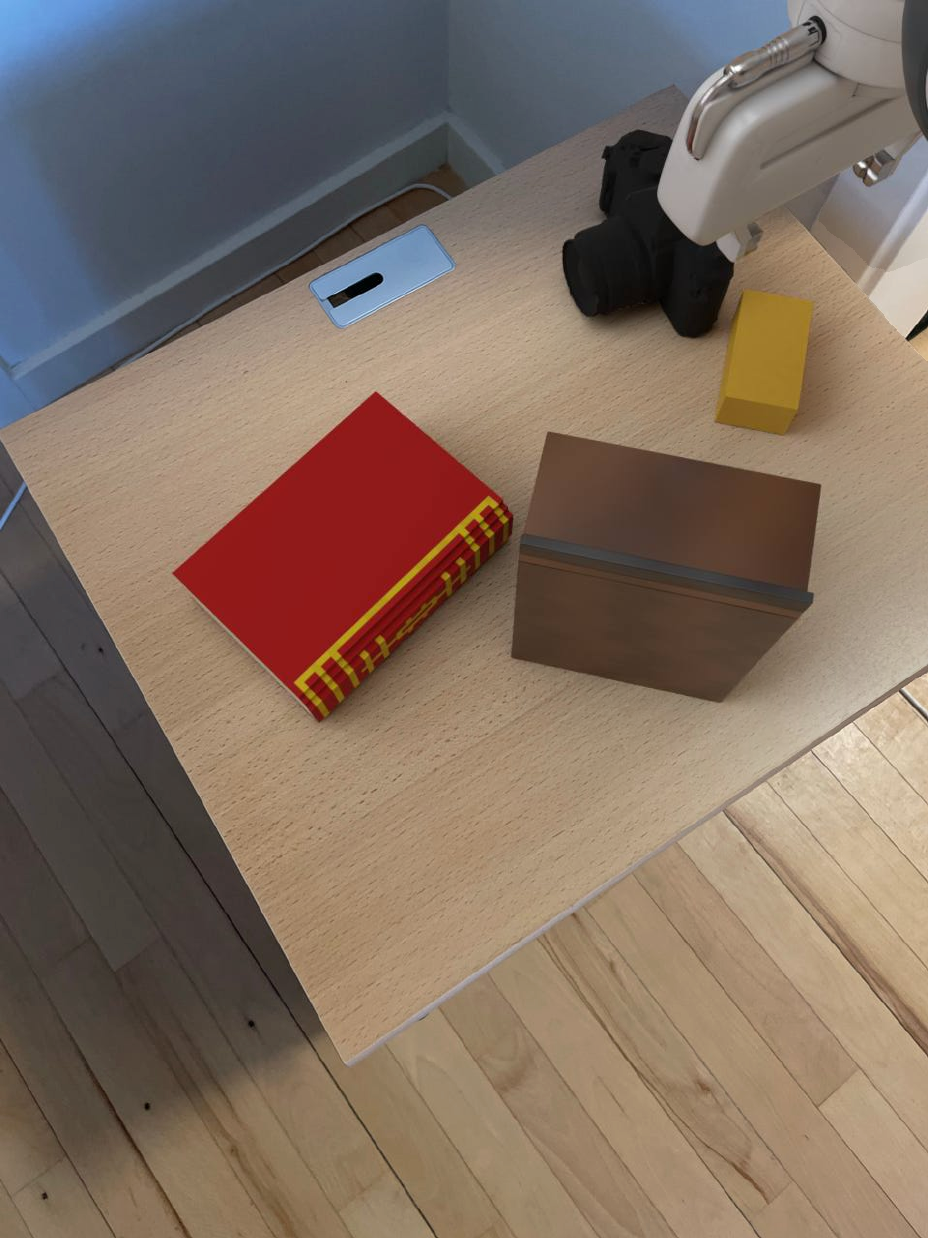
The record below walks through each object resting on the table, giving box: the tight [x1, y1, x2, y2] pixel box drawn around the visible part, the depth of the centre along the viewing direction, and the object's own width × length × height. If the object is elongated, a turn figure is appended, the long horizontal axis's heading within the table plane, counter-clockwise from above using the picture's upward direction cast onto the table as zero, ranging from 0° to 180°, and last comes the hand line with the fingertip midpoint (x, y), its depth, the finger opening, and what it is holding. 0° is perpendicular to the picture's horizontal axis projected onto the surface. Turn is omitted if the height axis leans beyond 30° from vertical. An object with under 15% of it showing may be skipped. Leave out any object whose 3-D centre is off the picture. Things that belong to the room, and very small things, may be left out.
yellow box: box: [714, 288, 815, 436], centre depth 70 cm, size 5×9×4 cm, turn 167°
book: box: [171, 390, 514, 724], centre depth 65 cm, size 18×13×5 cm
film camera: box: [561, 128, 735, 339], centre depth 71 cm, size 15×10×9 cm, turn 23°
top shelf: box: [518, 431, 822, 619], centre depth 49 cm, size 14×7×2 cm, turn 77°
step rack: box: [510, 559, 799, 704], centre depth 59 cm, size 14×13×17 cm
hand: (803, 211), depth 55 cm, fingers open, 8 cm apart
